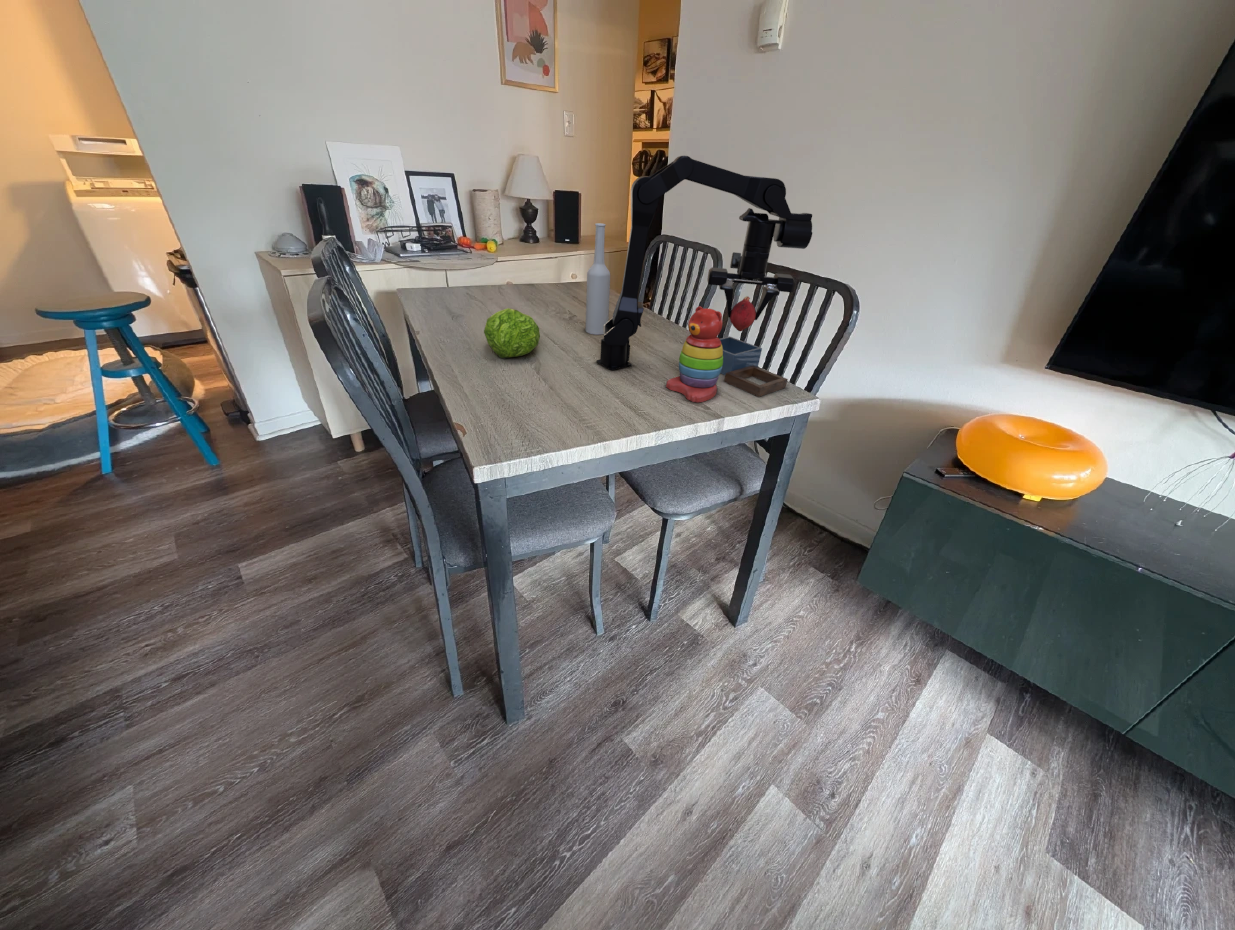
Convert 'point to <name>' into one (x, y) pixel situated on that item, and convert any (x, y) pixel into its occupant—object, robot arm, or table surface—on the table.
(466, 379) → the table surface
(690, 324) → the stacking bear
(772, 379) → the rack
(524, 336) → the lettuce
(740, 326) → the red round fruit
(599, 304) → the bottle
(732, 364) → the blue open box
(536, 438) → the table surface
